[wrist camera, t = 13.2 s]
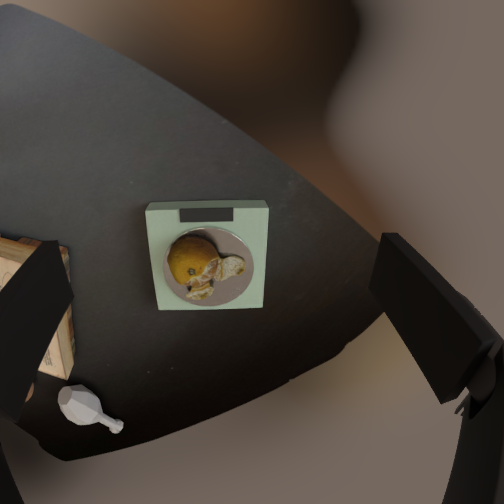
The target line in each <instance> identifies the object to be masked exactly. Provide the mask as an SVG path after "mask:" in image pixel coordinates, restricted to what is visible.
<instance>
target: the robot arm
mask: <svg viewBox="0 0 504 504" xmlns="http://www.w3.org/2000/svg"><path fill="white" fill-rule="evenodd" d="M369 290H370V291H371V293H372V294H373V295H374V297H375V298H376V300H377V301H378V303H379V304H380V306H381V307H382V309H383V310H384V312H385V313H386V315H387V316H388V318H389V319H390V321H391V323H392V324H393V326H394V327H395V329H396V330H397V332H398V333H399V335H400V337H401V338H402V340H403V341H404V343H405V345H406V346H407V347H408V349H409V351H410V352H411V354H412V356H413V357H414V359H415V361H416V362H417V364H418V366H419V367H420V369H421V371H422V372H423V374H424V376H425V377H426V379H427V381H428V382H429V384H430V386H431V388H432V389H433V391H434V393H435V395H436V396H437V398H438V400H439V402H440V404H443V403H446V402H449V401H451V400H454V399H456V398H457V397H458V396H459V395H460V393H461V392H462V391H463V390H464V388H465V387H467V389H468V390H469V393H468V395H467V396H466V397H465V399H464V400H463V401H462V402H461V404H460V405H459V406H458V407H457V409H456V411H455V414H457V413H458V412H459V411H460V410H461V409H462V408H463V407H464V411H463V412H462V414H461V416H463V418H462V425H461V430H460V436H459V441H458V446H457V450H456V455H455V459H454V463H453V467H452V471H451V475H450V478H449V482H448V486H447V489H446V492H445V495H444V499H443V502H442V504H504V340H503V339H502V338H501V336H500V335H499V334H498V333H497V332H496V331H495V329H494V328H493V327H492V326H491V324H490V323H489V322H488V321H487V320H486V319H485V318H484V316H483V315H481V313H480V312H479V311H478V310H477V309H476V308H474V305H473V304H472V303H471V302H470V301H469V300H468V299H467V298H466V297H465V296H463V295H462V294H461V293H459V292H458V291H456V290H455V289H454V288H453V287H452V286H451V285H450V284H449V283H448V282H447V281H446V280H445V279H444V278H443V277H442V276H441V274H440V273H439V272H437V270H436V269H435V268H434V267H433V266H431V264H430V263H428V262H427V260H425V259H424V258H423V257H422V256H421V255H420V254H419V253H418V252H417V251H416V250H415V249H414V248H413V247H412V246H411V245H410V244H409V243H407V242H406V240H404V239H403V238H402V237H401V236H400V235H399V234H398V233H382V236H381V241H380V245H379V249H378V253H377V257H376V261H375V265H374V269H373V273H372V277H371V280H370V284H369ZM73 298H74V295H73V292H72V289H71V286H70V283H69V279H68V276H67V273H66V269H65V266H64V262H63V259H62V255H61V251H60V248H59V244H58V240H55V241H43V242H42V243H41V244H40V245H39V246H38V247H37V248H36V249H35V250H34V252H33V253H32V254H31V255H30V256H29V257H28V258H27V259H26V261H25V262H24V263H23V264H22V265H21V266H20V268H19V269H18V270H17V271H16V272H15V274H14V275H13V276H12V277H11V278H10V280H9V281H8V282H7V283H6V285H5V286H4V287H3V288H2V290H1V291H0V417H1V418H4V419H7V420H10V421H13V422H16V423H18V420H19V417H20V414H21V411H22V409H23V406H24V403H25V401H26V398H27V396H28V393H29V390H30V388H31V385H32V383H33V381H34V378H35V376H36V373H37V371H38V369H39V367H40V364H41V362H42V360H43V358H44V355H45V353H46V351H47V349H48V347H49V345H50V343H51V340H52V338H53V336H54V334H55V332H56V330H57V328H58V326H59V324H60V322H61V320H62V318H63V316H64V314H65V313H66V311H67V309H68V307H69V305H70V303H71V301H72V300H73ZM0 504H24V502H23V500H22V497H21V495H20V494H19V491H18V489H17V486H16V484H15V481H14V479H13V477H12V474H11V472H10V469H9V466H8V464H7V461H6V458H5V455H4V452H3V449H2V447H1V443H0Z"/></svg>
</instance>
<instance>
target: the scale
mask: <svg viewBox="0 0 504 504" xmlns="http://www.w3.org/2000/svg"><path fill="white" fill-rule="evenodd" d="M268 214H269V208H268V206H267V204H266V202H265V200H210V201H174V202H150V203H149V205H148V207H147V209H146V210H145V216H146V225H147V234H148V242H149V250H150V258H151V265H152V272H153V279H154V285H155V292H156V298H157V303H158V309H159V310H201V309H235V308H259V307H263V293H264V278H265V263H266V247H267V231H268ZM200 226H216V227H221V228H224V229H227V230H229V231H231V232H233V233H235V234H236V235H238V236H239V237H240V238H241V239H242V240H243V241H244V242H245V243H246V245H247V246H248V247H249V249H250V251H251V254H252V257H253V262H254V272H253V277H252V280H251V282H250V284H249V286H248V287H247V289H246V290H245V291H244V292H243V293H242V294H241V295H240V296H239V297H237V298H236V299H234V300H233V301H231V302H228V303H226V304H223V305H218V306H199V305H195V304H191V303H189V302H187V301H185V300H183V299H181V298H180V297H178V296H177V295H176V294H175V293H174V292H173V291H172V290H171V289H170V287H169V286H168V284H167V282H166V280H165V277H164V273H163V259H164V256H165V253H166V250H167V248H168V246H169V245H170V243H171V242H172V241H173V240H174V239H175V238H176V237H177V236H178V235H180V234H181V233H183V232H185V231H187V230H189V229H192V228H195V227H200Z"/></svg>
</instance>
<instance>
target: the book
mask: <svg viewBox="0 0 504 504" xmlns="http://www.w3.org/2000/svg"><path fill="white" fill-rule="evenodd" d="M41 243H42V241H37V240H34V239H29V238H24V237H22V238H21V239H19V240H18V241H17V242H16V241H12V240H9V239H5V238H2V237H1V234H0V291H1V290H2V288H3V287H4V286H5V285H6V283H7V282H8V281H9V280H10V278H11V277H12V276H13V275H14V274H15V272H16V271H17V270H18V269H19V268H20V266H21V265H22V264H23V263H24V262H25V261H26V259H27V258H28V257H29V256H30V255H31V254H32V253H33V252H34V250H35V249H36V248H37V247H38V246H39V245H40V244H41ZM59 248H60V251H61V255H62V259H63V262H64V266H65V269H66V273H67V276H68V279H69V283H70V276H69V270H70V265H69V258H70V257H69V256H68V250H67V249H68V248H65V247H62V246H59ZM71 311H72V310H71V303H70V305H69V307H68V309H67V311H66V313H65V314H64V316H63V318H62V320H61V322H60V324H59V326H58V328H57V330H56V332H55V334H54V336H53V338H52V340H51V343H50V345H49V347H48V349H47V351H46V353H45V355H44V358H43V360H42V362H41V364H40V367H39V369H38V370H39V371H41V372H44V373H47V374H50V375H53V376H56V377H59V378H62V379H65V380H68V377H69V374H70V372H71V369H72V367H73V364H74V359H73V356H74V353H75V351H76V350H75V339H74V338H73V337H74V331H73V324H72V313H71Z"/></svg>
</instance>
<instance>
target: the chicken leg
mask: <svg viewBox="0 0 504 504" xmlns="http://www.w3.org/2000/svg"><path fill="white" fill-rule="evenodd" d="M58 402H59V405H60V408H61V410H62V412H63V413H64V415H65V416H66V417H67V419H69V420H71V421H72V422H74V423H76V424H78V425H88V424H92V423H95V422H101V423H102V424H104V425H106V426H108V427H110V431H112V432H113V433H119V431H121V429H122V428H123V422H122V421H121V420H120V419H113V418H111V417H109V416H107V415H106V414H104V413H103V411H102V408H101V404H100V401H99V398H98V397H97V396H96V395H95V394H94V393H93V392H92V391H91V390H89V389H87V388H86V387H84V386H83V385H74V386H67V387H63V388H62V389H61V391H60V392H59V396H58Z"/></svg>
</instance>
